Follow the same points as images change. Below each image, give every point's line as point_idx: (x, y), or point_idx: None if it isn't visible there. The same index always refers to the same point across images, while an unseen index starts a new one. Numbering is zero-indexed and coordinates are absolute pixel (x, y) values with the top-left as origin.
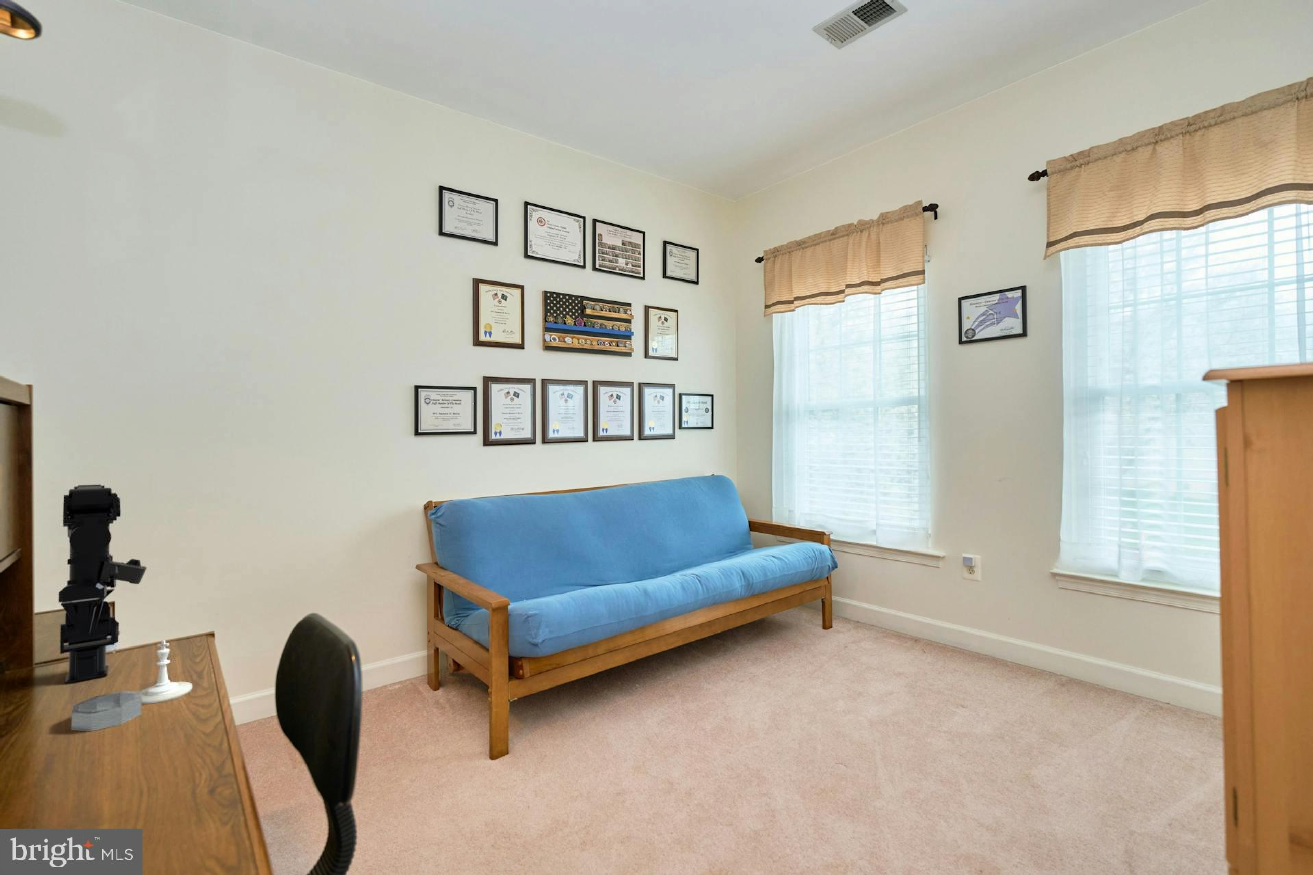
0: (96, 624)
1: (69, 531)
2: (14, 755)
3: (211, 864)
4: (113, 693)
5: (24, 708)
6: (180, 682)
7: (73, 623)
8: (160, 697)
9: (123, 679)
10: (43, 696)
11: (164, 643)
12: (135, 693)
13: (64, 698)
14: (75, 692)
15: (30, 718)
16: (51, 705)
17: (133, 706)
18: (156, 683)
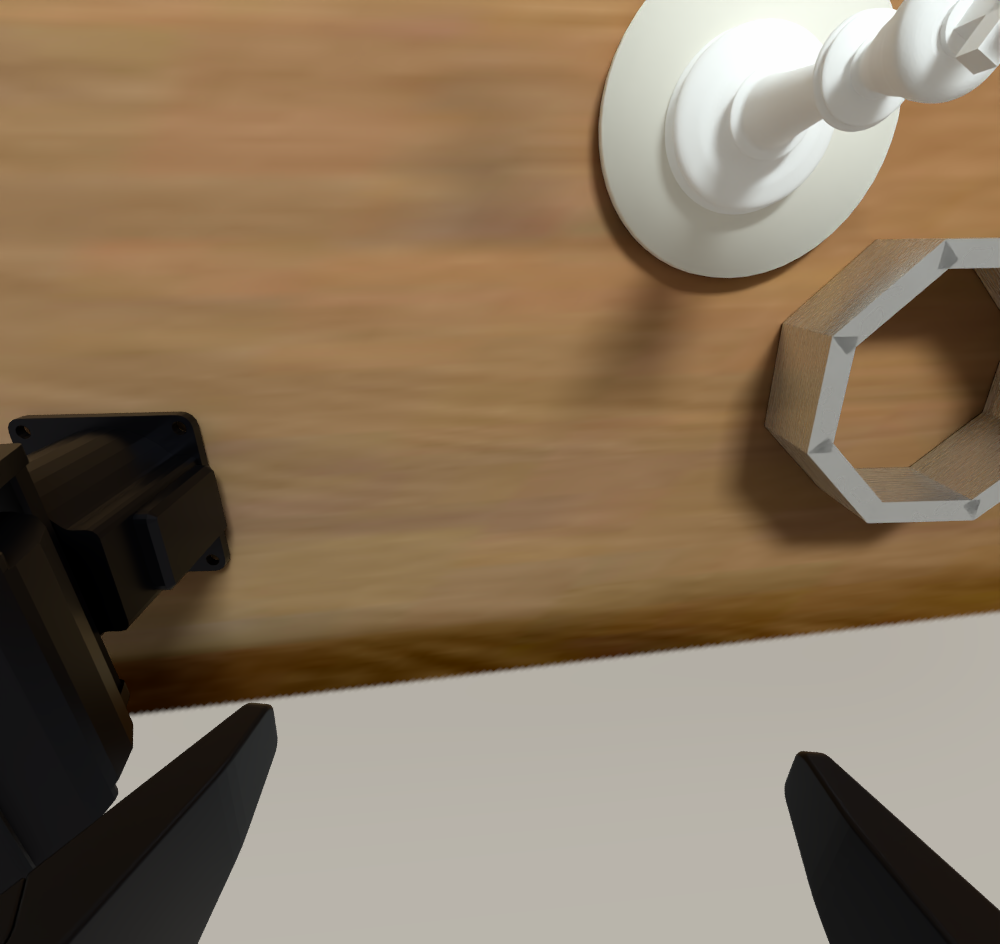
0: (258, 722)
1: None
2: (996, 606)
3: None
4: (837, 377)
5: (486, 644)
6: (658, 6)
7: (25, 862)
8: (863, 139)
9: (299, 334)
10: (366, 609)
11: None
12: (947, 269)
13: (453, 543)
14: (390, 514)
15: (632, 614)
16: (518, 573)
17: None
18: (770, 153)
